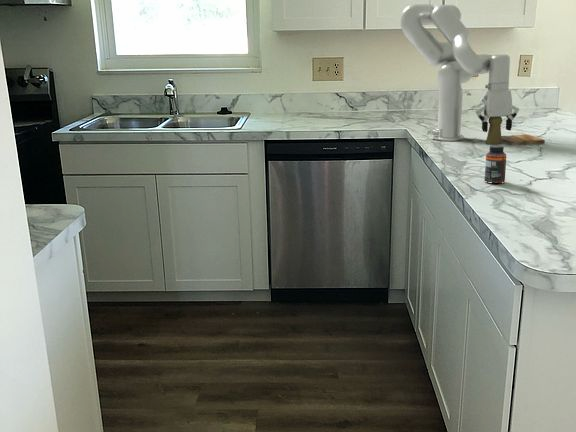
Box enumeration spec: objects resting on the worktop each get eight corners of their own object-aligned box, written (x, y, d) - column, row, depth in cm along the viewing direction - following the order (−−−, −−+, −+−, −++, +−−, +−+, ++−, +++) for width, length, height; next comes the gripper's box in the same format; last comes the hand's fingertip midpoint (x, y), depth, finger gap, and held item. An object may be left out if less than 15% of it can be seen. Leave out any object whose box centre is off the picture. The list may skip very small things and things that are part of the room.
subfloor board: (510, 145, 247) (510, 141, 246) (496, 139, 259) (496, 135, 259) (544, 143, 248) (544, 139, 248) (528, 138, 260) (529, 134, 260)
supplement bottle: (500, 179, 194) (503, 143, 191) (507, 184, 189) (510, 147, 185) (481, 180, 194) (483, 144, 191) (487, 185, 188) (490, 147, 185)
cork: (491, 145, 248) (493, 117, 245) (482, 142, 253) (484, 115, 250) (504, 144, 249) (506, 116, 246) (496, 141, 255) (498, 114, 252)
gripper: (481, 89, 240) (479, 133, 245) (524, 86, 242) (521, 130, 247) (473, 87, 248) (472, 130, 252) (515, 85, 249) (513, 128, 254)
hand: (496, 130), depth 249 cm, fingers open, 9 cm apart
